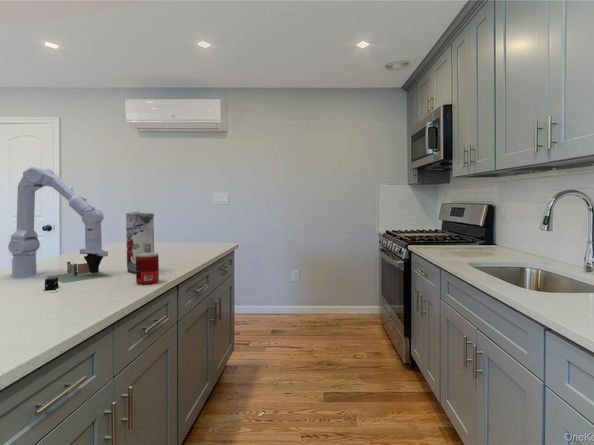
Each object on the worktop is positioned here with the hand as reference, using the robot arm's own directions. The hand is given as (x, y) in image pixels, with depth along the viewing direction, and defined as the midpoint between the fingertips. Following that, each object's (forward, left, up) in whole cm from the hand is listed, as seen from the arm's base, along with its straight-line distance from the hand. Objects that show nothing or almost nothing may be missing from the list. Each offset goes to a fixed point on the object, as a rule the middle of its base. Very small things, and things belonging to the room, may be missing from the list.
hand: (94, 272), depth 142 cm
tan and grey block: (-8, -1, -1) cm, 9 cm away
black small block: (+12, -18, -2) cm, 22 cm away
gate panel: (-5, -1, -1) cm, 5 cm away
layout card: (-3, -4, -1) cm, 6 cm away
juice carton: (+7, +16, -2) cm, 18 cm away
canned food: (+27, +8, -2) cm, 28 cm away
